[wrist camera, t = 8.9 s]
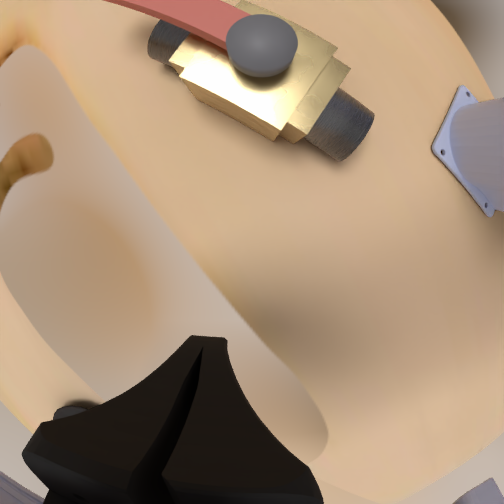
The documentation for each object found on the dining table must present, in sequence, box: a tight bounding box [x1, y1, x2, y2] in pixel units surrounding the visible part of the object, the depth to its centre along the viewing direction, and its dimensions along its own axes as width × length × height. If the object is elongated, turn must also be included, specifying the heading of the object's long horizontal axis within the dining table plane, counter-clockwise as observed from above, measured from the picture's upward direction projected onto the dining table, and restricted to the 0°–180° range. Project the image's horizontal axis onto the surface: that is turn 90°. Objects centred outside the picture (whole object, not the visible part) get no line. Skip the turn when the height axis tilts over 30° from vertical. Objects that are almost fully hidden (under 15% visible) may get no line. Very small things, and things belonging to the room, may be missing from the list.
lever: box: [104, 0, 298, 77], centre depth 9 cm, size 3×14×1 cm, turn 54°
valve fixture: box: [148, 0, 374, 162], centre depth 14 cm, size 14×6×6 cm, turn 58°
